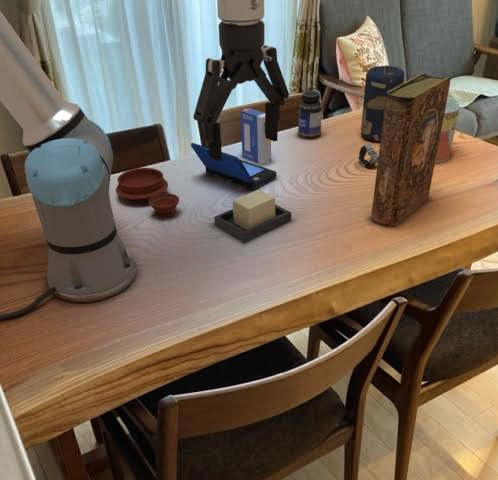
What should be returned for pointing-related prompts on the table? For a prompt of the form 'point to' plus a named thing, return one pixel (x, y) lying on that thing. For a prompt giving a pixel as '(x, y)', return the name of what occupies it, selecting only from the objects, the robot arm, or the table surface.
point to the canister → (378, 98)
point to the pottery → (147, 189)
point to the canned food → (447, 131)
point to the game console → (234, 168)
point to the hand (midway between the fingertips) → (244, 148)
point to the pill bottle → (310, 115)
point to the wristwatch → (371, 153)
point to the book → (408, 147)
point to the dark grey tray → (228, 225)
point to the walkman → (254, 137)
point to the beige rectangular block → (253, 209)
